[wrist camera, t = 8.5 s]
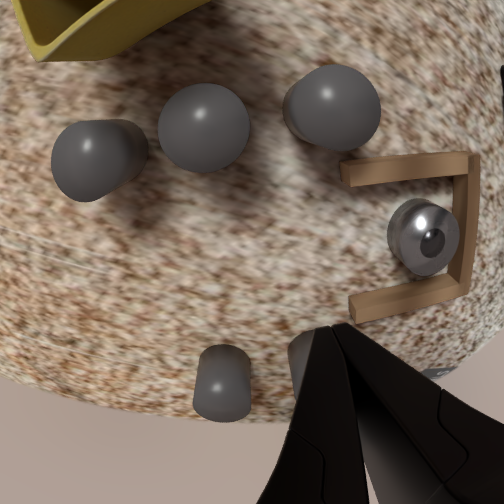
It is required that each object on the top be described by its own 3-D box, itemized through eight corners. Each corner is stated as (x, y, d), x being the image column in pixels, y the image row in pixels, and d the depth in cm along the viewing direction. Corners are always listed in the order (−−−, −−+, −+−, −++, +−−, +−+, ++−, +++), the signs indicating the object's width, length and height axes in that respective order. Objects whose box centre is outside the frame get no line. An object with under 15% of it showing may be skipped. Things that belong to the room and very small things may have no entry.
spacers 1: (344, 75, 15) (373, 63, 11) (354, 139, 17) (385, 147, 13) (84, 130, 16) (44, 136, 12) (98, 189, 18) (62, 210, 14)
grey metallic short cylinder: (439, 192, 18) (459, 202, 16) (440, 251, 20) (458, 266, 18) (383, 205, 19) (400, 216, 16) (388, 266, 20) (403, 284, 18)
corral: (464, 151, 17) (480, 155, 15) (456, 282, 21) (468, 293, 20) (339, 161, 17) (348, 165, 16) (348, 309, 22) (355, 324, 20)
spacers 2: (337, 324, 22) (353, 365, 18) (338, 362, 24) (351, 402, 20) (193, 347, 23) (184, 390, 19) (206, 382, 24) (202, 424, 20)
